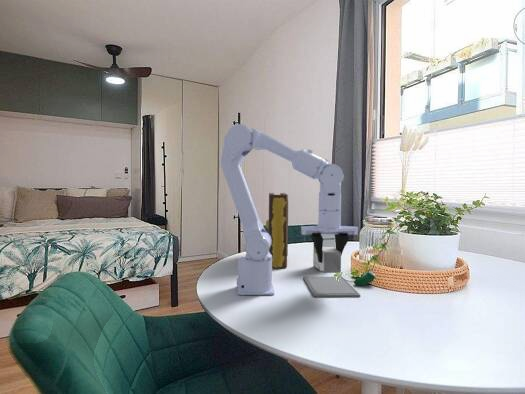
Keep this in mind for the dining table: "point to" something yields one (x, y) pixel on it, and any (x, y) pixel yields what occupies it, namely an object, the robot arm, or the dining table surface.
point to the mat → (330, 287)
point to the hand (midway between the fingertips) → (328, 261)
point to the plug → (330, 260)
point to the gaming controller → (365, 278)
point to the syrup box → (327, 242)
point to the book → (278, 229)
